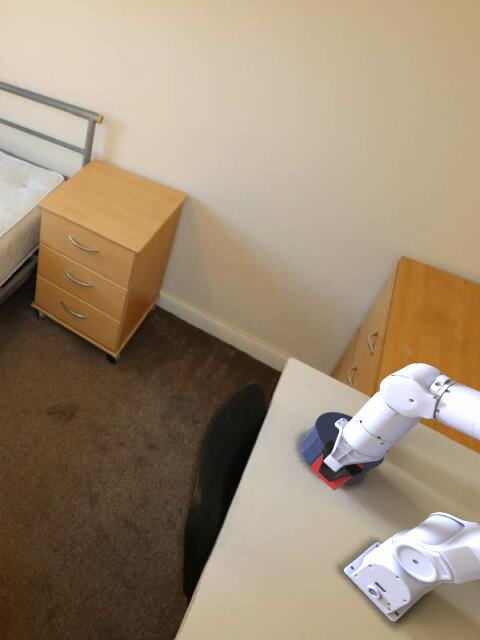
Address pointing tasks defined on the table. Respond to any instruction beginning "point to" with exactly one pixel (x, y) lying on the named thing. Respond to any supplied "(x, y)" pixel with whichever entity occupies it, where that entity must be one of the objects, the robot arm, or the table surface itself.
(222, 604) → the table surface
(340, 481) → the block
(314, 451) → the pot
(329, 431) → the pot lid
